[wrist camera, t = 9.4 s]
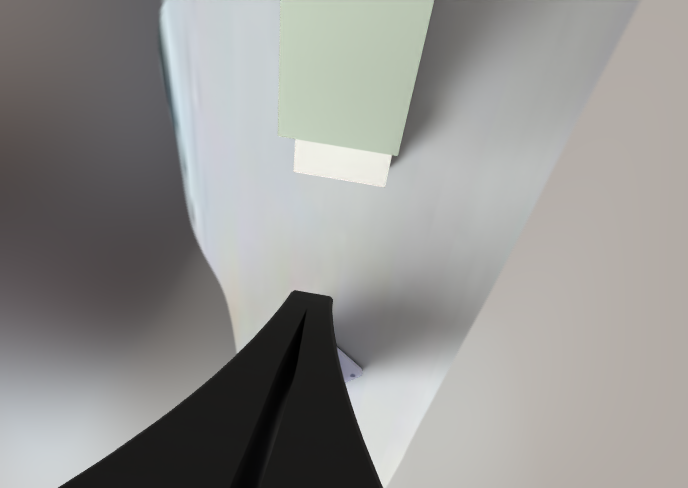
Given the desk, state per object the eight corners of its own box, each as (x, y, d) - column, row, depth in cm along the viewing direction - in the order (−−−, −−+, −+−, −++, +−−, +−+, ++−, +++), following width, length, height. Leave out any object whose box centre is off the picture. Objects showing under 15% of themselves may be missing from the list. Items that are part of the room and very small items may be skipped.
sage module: (389, 130, 14) (397, 156, 9) (309, 116, 14) (277, 136, 9) (411, 27, 12) (435, -7, 7) (317, 12, 12) (281, -32, 7)
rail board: (385, 172, 16) (387, 192, 14) (304, 158, 16) (289, 175, 14) (433, -44, 12) (453, -85, 9) (320, -63, 12) (302, -110, 9)
